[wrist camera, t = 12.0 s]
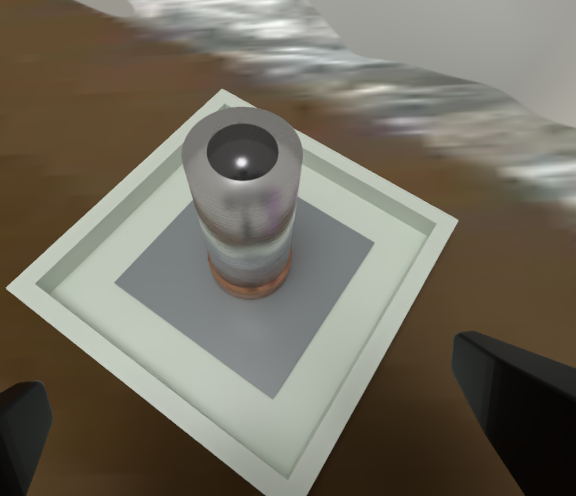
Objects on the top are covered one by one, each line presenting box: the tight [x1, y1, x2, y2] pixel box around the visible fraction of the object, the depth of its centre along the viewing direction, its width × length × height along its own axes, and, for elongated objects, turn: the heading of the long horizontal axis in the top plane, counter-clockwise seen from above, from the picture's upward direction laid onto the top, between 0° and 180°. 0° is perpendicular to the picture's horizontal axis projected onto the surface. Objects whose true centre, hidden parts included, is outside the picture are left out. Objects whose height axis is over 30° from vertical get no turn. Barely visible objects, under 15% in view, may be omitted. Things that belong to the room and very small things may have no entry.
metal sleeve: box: [181, 107, 303, 300], centre depth 19 cm, size 5×5×10 cm
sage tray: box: [6, 89, 458, 496], centre depth 23 cm, size 18×18×2 cm
